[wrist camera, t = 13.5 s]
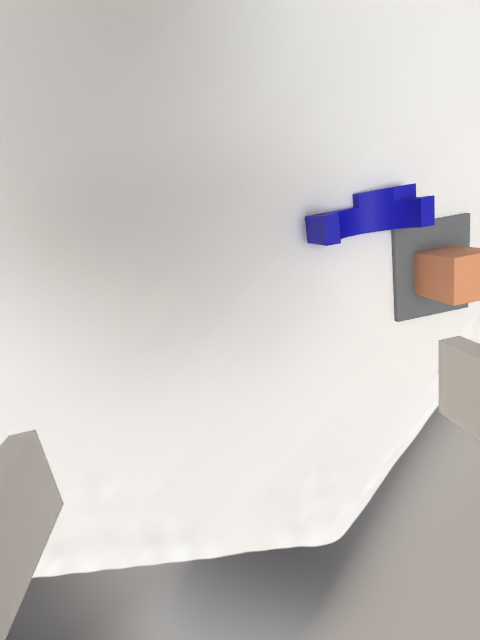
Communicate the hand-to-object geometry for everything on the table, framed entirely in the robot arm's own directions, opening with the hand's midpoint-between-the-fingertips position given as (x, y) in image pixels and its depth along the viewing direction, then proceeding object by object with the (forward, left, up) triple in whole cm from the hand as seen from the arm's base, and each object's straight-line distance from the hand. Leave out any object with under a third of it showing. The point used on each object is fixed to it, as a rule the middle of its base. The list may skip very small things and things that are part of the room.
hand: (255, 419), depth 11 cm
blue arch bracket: (-4, +19, -31) cm, 37 cm away
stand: (+4, +28, -31) cm, 42 cm away
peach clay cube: (+4, +28, -30) cm, 42 cm away
